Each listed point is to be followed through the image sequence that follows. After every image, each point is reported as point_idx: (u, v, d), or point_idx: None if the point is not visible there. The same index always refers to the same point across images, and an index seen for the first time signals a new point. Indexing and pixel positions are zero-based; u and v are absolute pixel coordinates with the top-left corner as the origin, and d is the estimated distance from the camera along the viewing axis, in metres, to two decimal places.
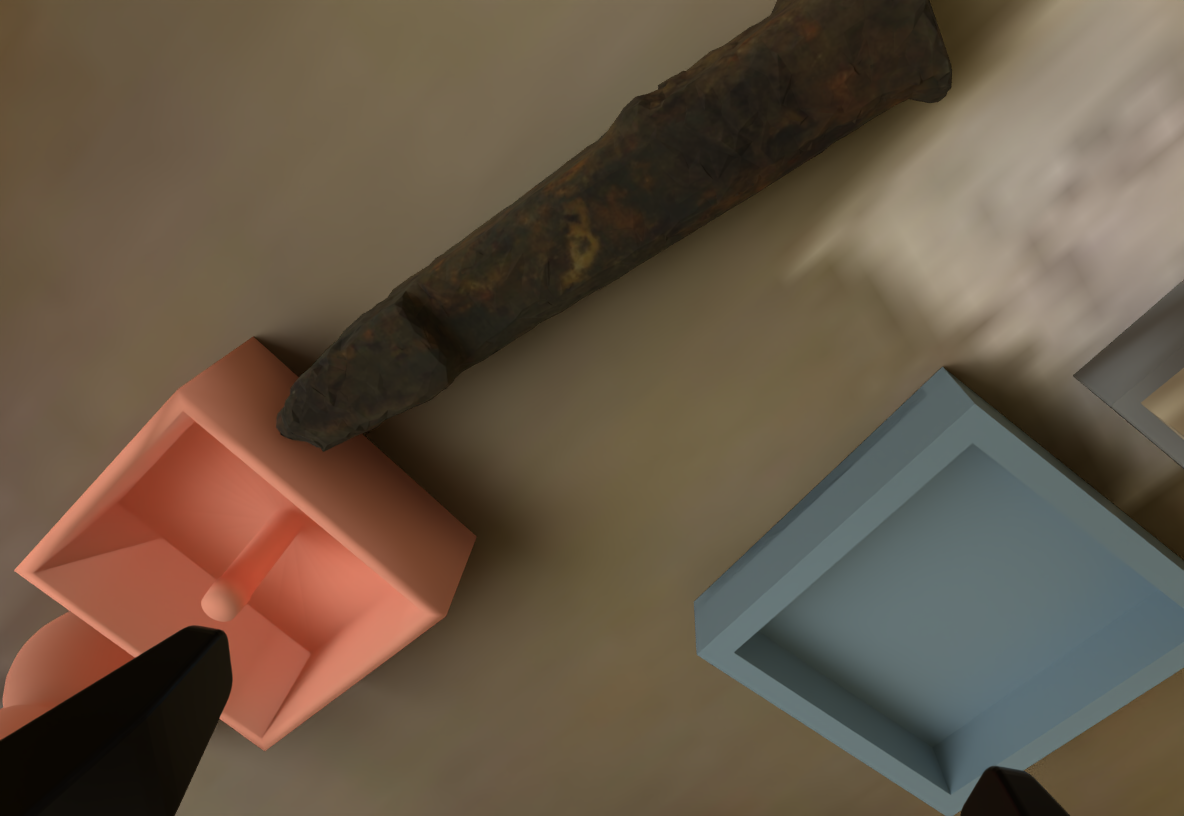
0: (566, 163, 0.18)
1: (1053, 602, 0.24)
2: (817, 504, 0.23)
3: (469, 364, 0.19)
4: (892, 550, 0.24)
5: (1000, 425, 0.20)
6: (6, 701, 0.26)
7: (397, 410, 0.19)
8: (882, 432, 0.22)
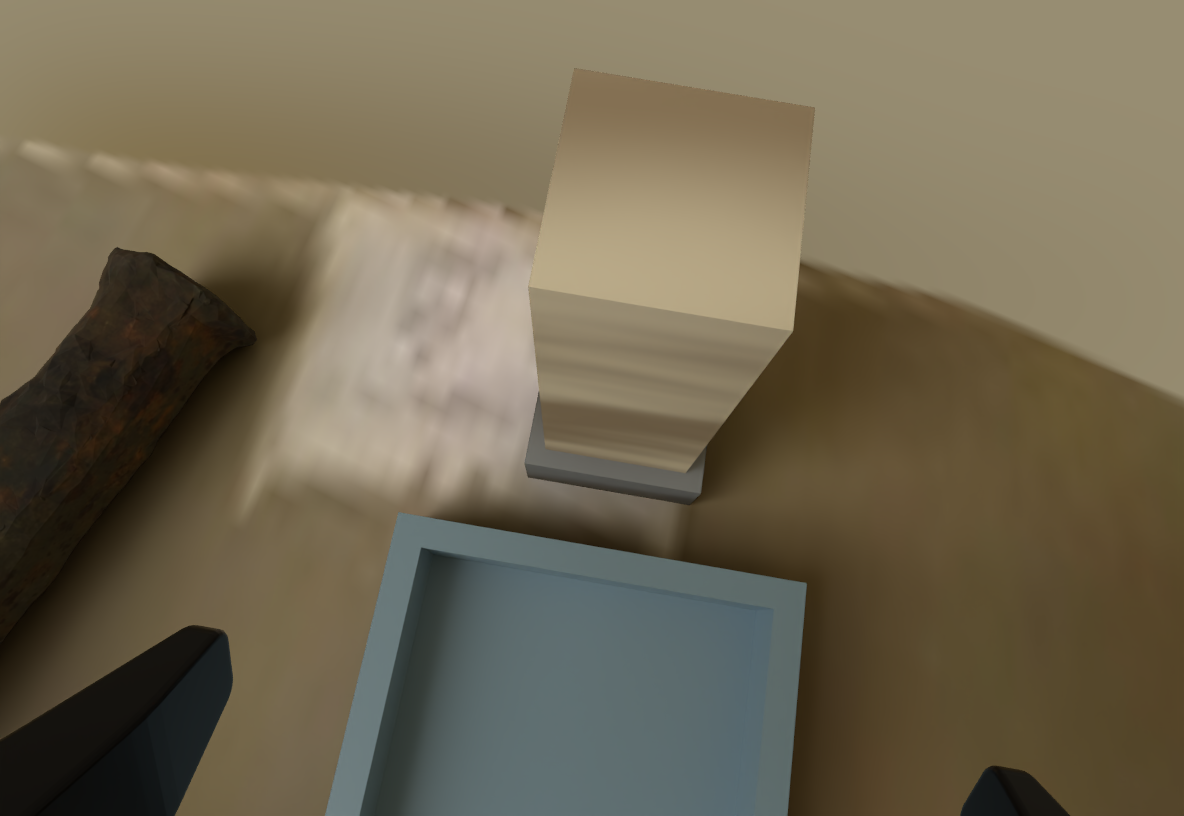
0: None
1: (677, 693, 0.21)
2: None
3: None
4: (479, 728, 0.21)
5: (433, 519, 0.20)
6: None
7: None
8: None
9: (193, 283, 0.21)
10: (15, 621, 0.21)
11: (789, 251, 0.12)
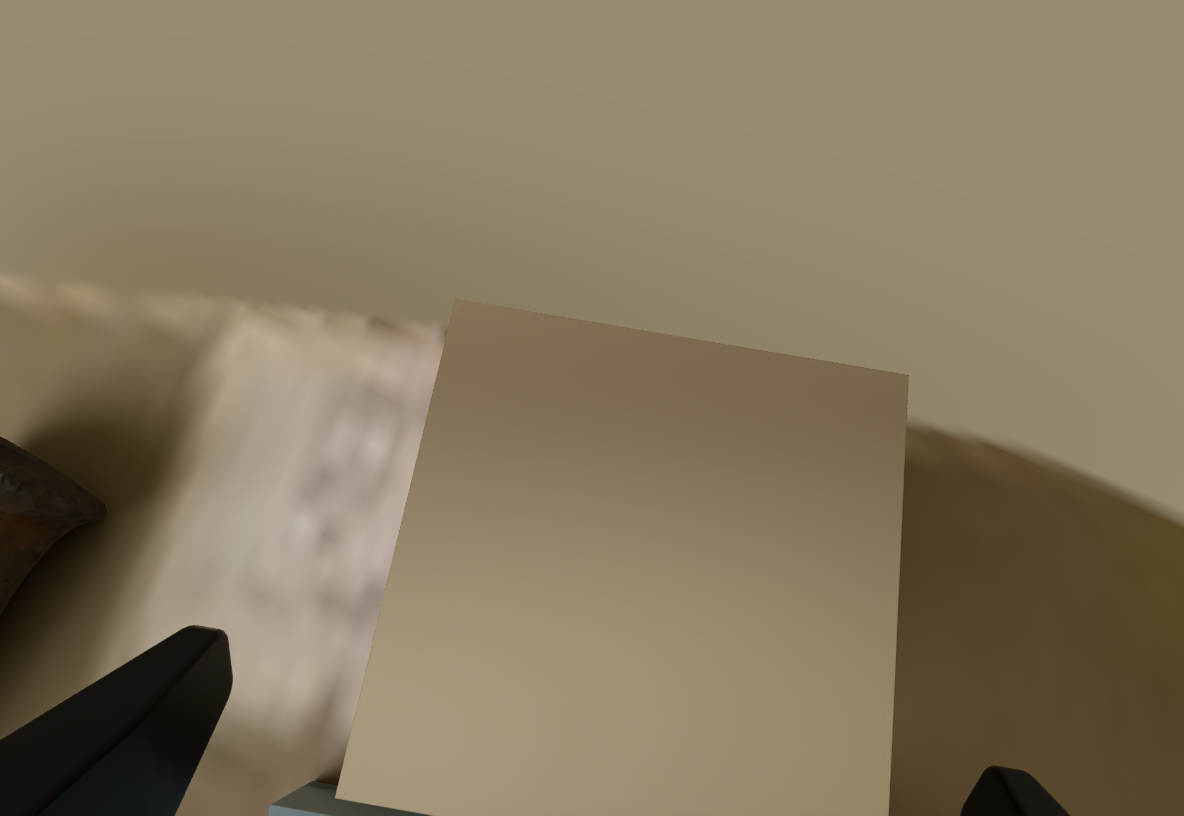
0: None
1: None
2: None
3: None
4: None
5: (319, 815, 0.14)
6: None
7: None
8: None
9: None
10: None
11: (870, 698, 0.06)
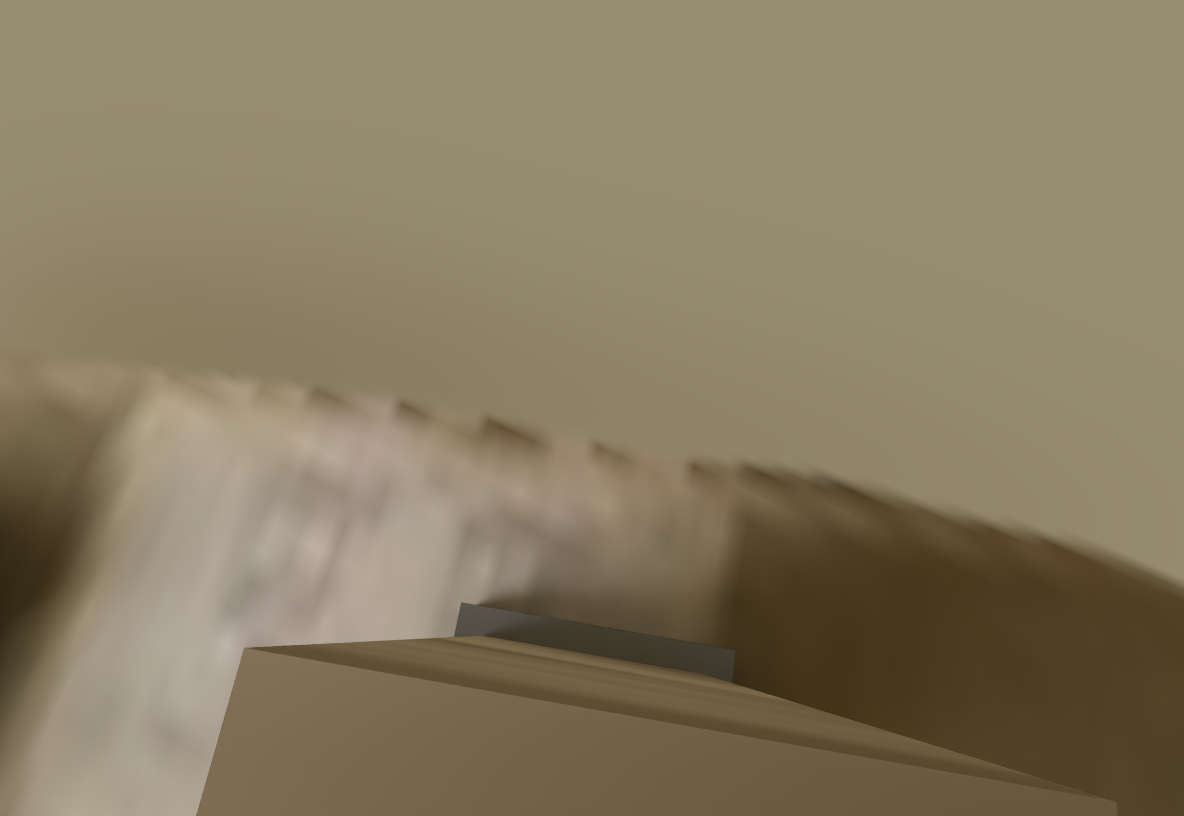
0: None
1: None
2: None
3: None
4: None
5: None
6: None
7: None
8: None
9: None
10: None
11: None
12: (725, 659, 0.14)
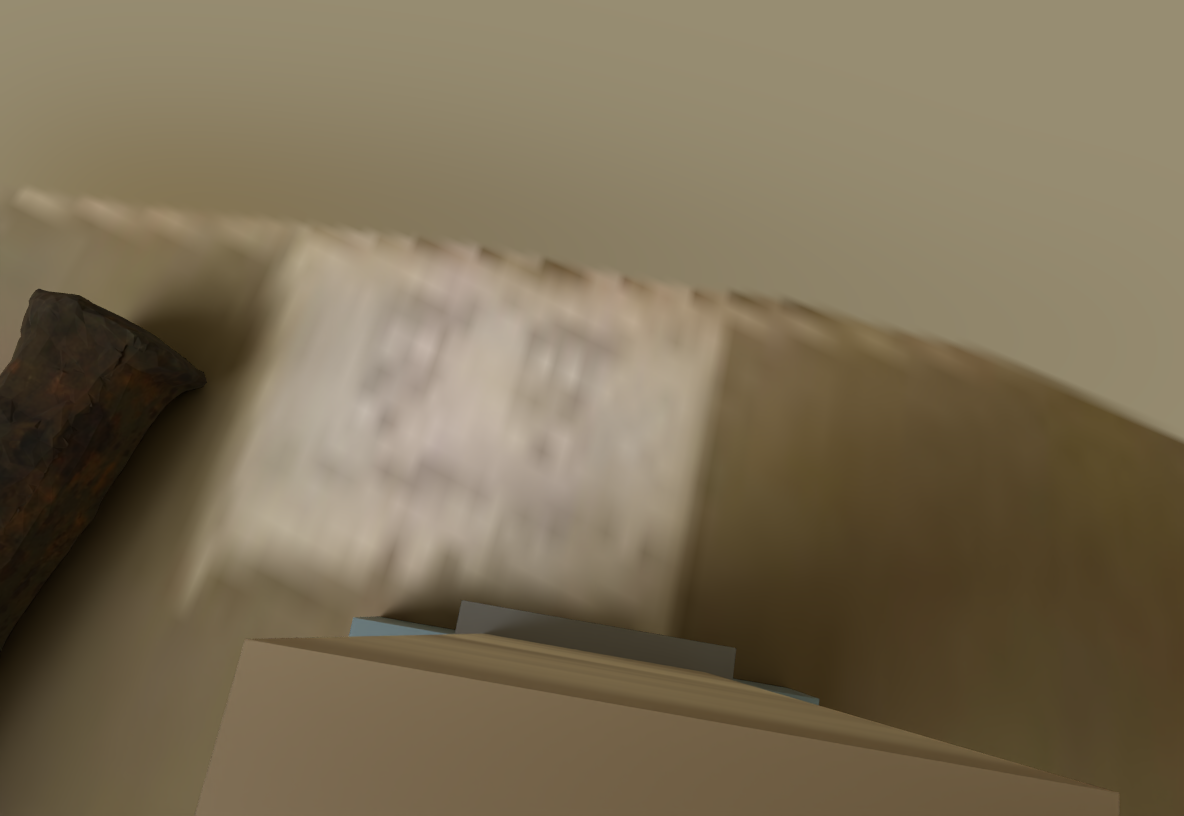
0: None
1: None
2: None
3: None
4: None
5: (393, 625, 0.18)
6: None
7: None
8: None
9: (126, 327, 0.19)
10: None
11: None
12: (726, 657, 0.14)
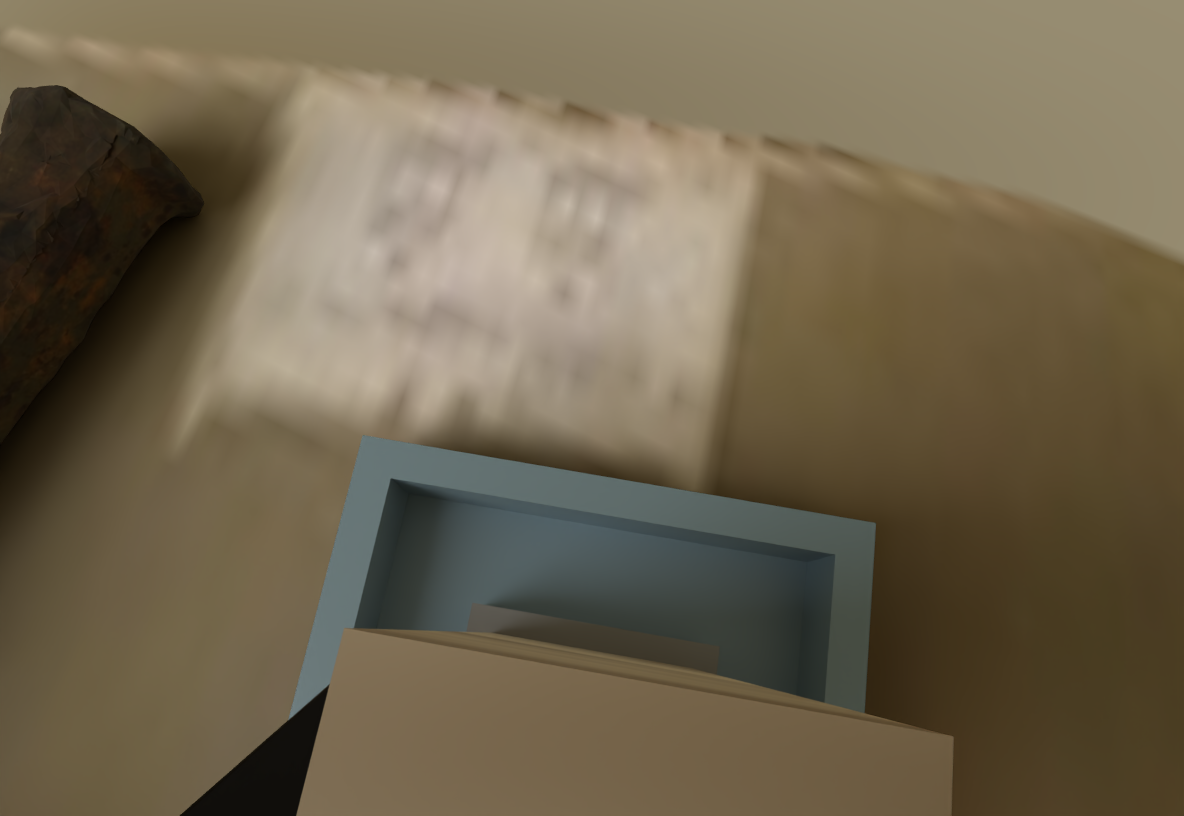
0: None
1: None
2: None
3: None
4: None
5: (406, 443, 0.16)
6: None
7: None
8: None
9: (116, 118, 0.17)
10: None
11: None
12: (710, 654, 0.15)
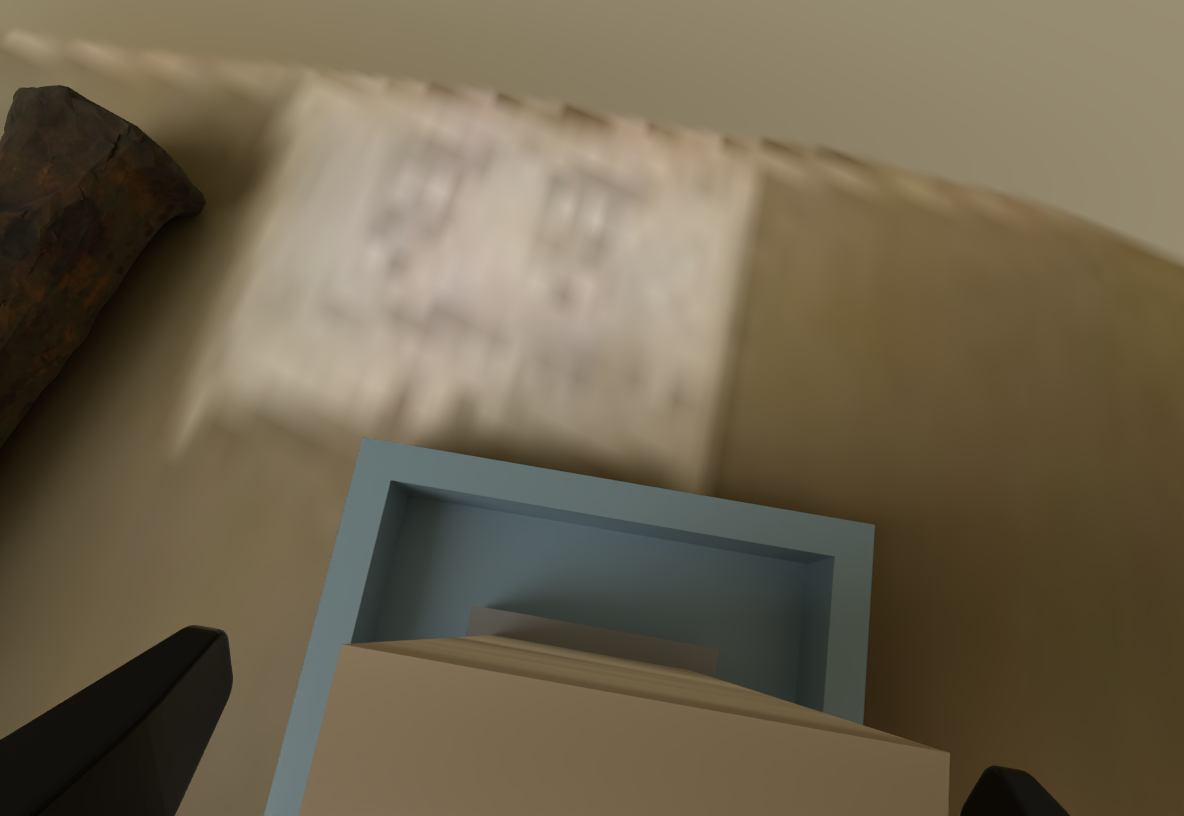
0: None
1: None
2: None
3: None
4: None
5: (406, 445, 0.16)
6: None
7: None
8: None
9: (119, 117, 0.17)
10: None
11: None
12: (710, 657, 0.15)
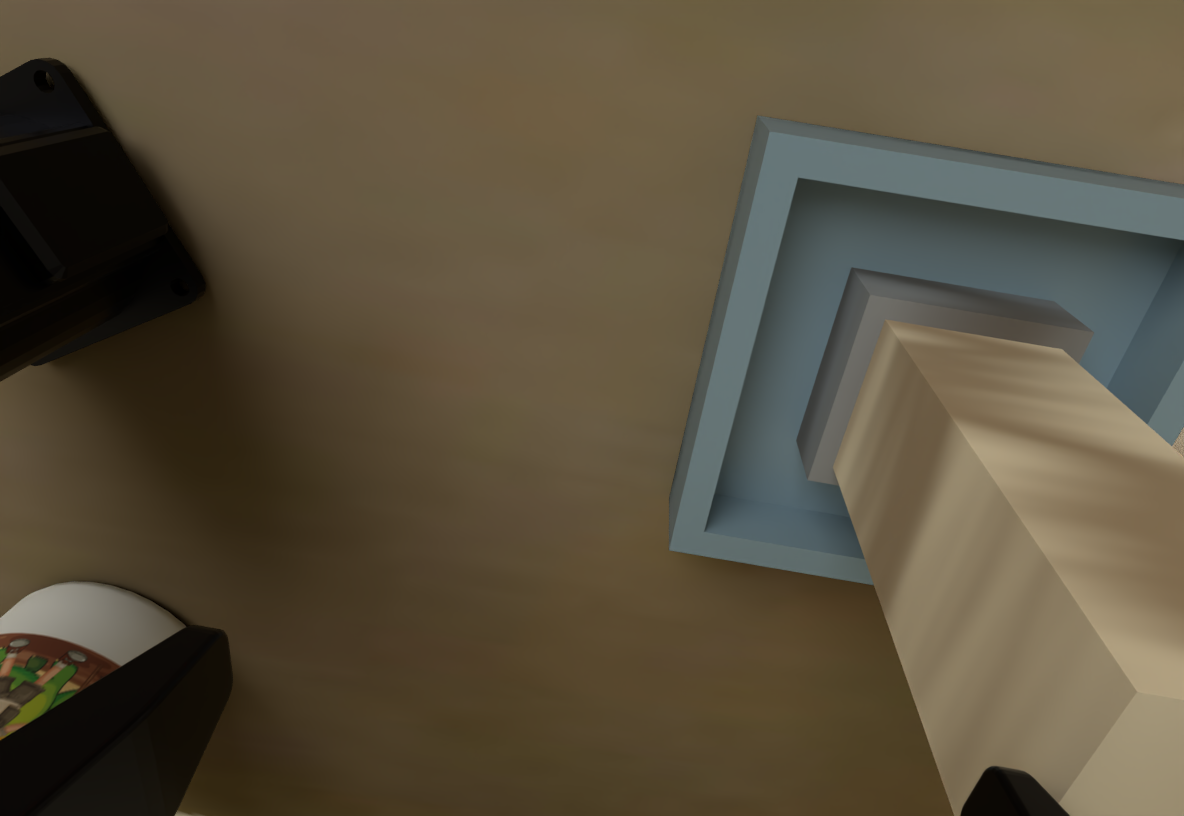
0: None
1: None
2: (1017, 161, 0.17)
3: None
4: None
5: None
6: None
7: None
8: (1131, 178, 0.17)
9: None
10: None
11: None
12: None
